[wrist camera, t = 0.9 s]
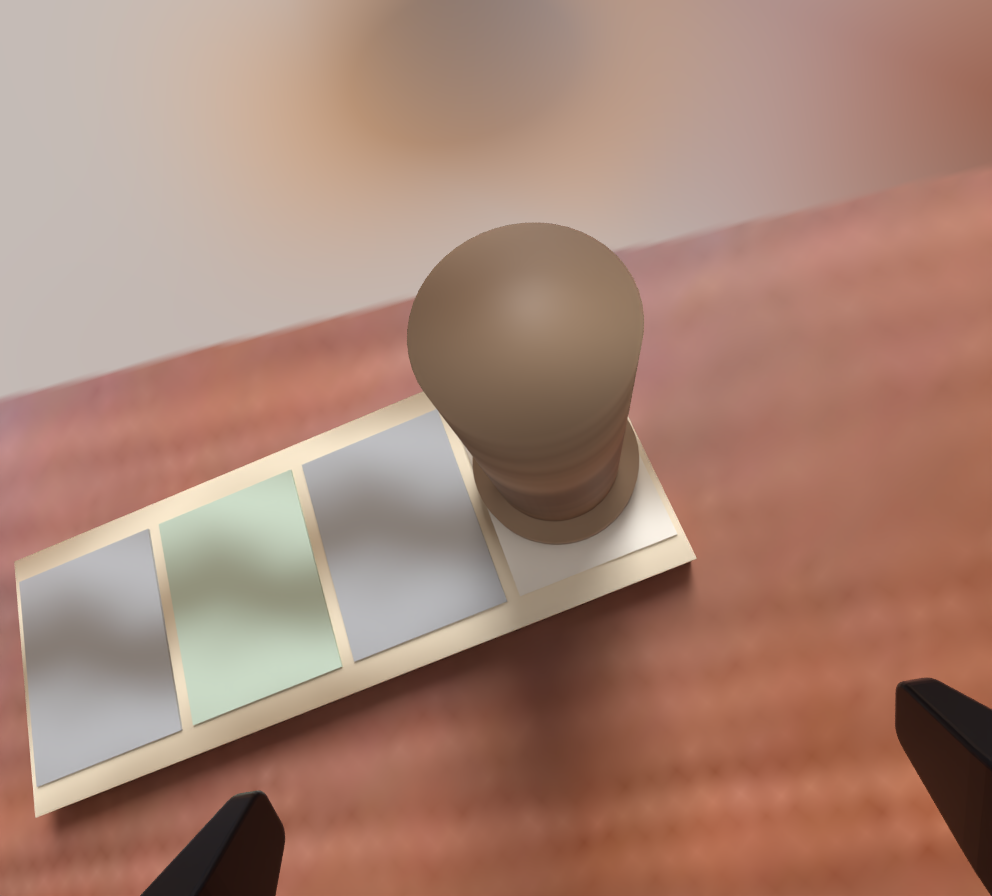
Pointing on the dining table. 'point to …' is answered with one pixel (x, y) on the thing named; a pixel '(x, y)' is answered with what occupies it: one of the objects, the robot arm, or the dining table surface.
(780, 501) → the dining table surface
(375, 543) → the board
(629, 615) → the dining table surface
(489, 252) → the pawn
